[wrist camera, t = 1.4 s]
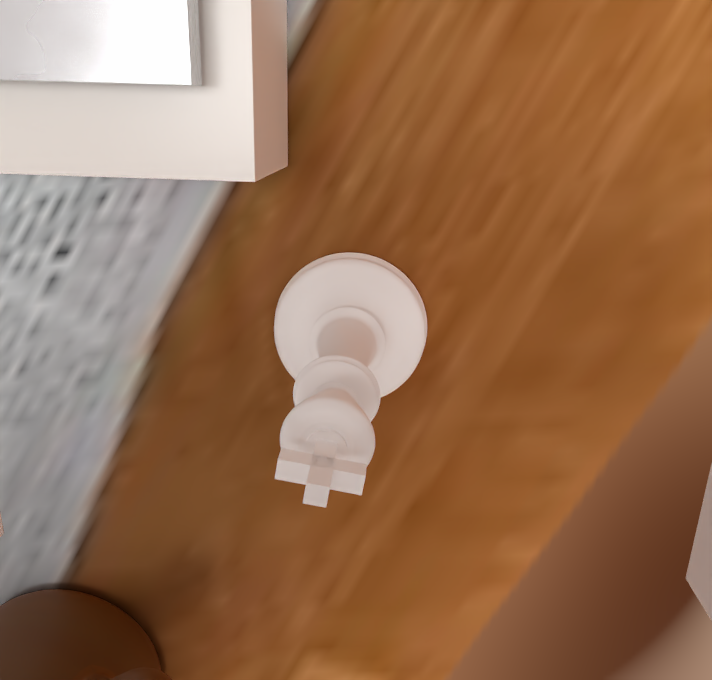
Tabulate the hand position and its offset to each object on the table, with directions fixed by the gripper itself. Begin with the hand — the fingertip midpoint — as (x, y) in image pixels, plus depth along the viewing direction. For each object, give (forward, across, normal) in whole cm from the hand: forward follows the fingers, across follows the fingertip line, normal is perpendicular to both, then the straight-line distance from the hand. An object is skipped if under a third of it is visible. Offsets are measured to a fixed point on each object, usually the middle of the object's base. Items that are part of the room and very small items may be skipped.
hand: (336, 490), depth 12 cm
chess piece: (+10, 0, 0) cm, 10 cm away
